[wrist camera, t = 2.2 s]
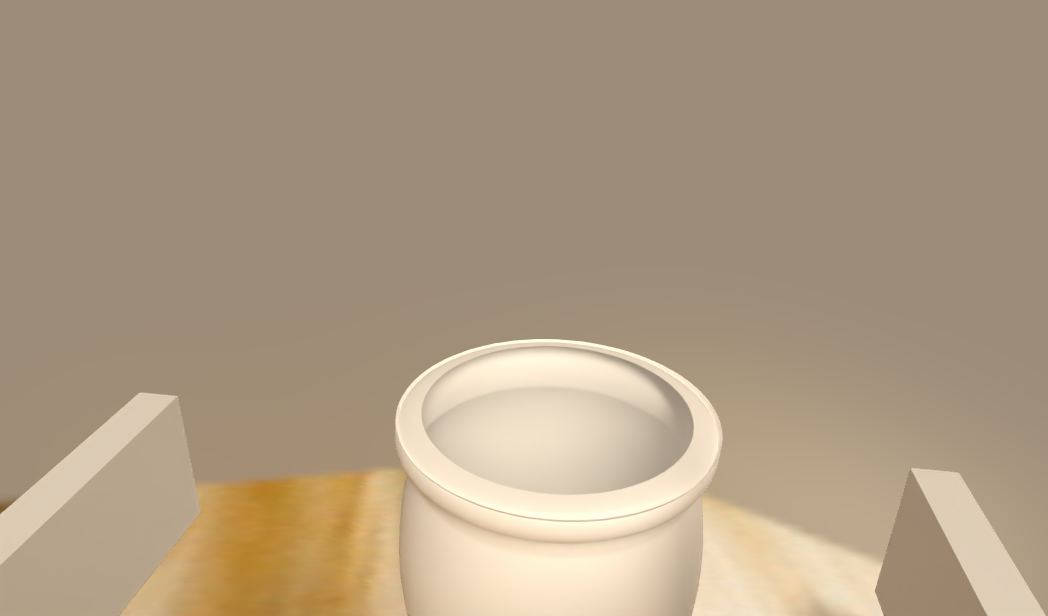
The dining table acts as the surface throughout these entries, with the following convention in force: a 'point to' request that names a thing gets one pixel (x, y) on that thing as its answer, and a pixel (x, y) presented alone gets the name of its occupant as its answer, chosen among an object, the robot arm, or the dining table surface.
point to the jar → (553, 483)
